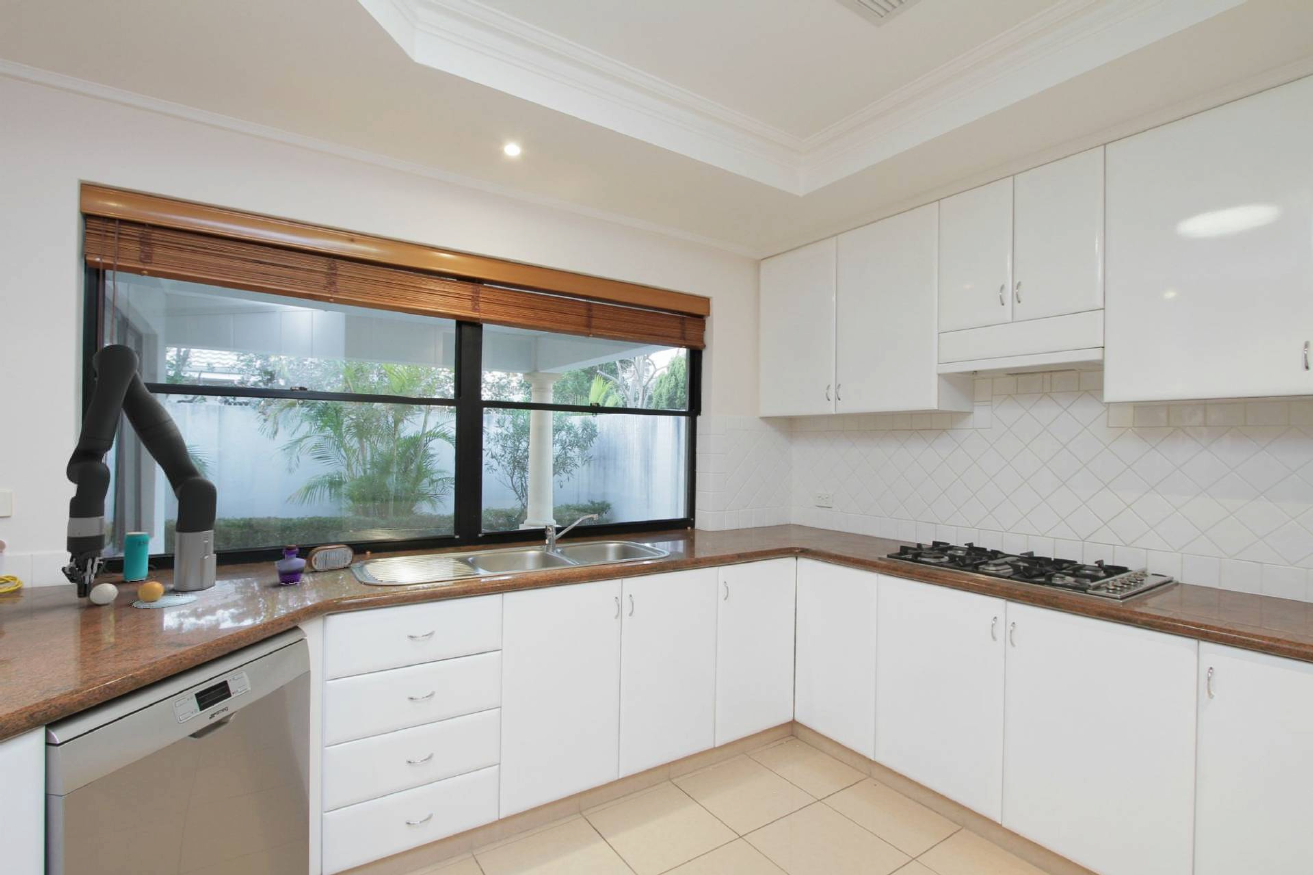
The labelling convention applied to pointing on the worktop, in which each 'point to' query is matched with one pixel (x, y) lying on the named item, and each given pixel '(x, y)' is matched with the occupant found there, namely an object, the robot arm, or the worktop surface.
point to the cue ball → (103, 593)
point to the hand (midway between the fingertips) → (84, 597)
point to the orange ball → (150, 591)
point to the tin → (330, 557)
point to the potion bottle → (290, 565)
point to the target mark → (166, 601)
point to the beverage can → (136, 556)
